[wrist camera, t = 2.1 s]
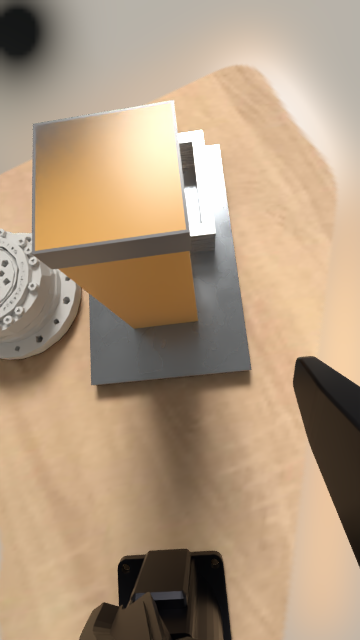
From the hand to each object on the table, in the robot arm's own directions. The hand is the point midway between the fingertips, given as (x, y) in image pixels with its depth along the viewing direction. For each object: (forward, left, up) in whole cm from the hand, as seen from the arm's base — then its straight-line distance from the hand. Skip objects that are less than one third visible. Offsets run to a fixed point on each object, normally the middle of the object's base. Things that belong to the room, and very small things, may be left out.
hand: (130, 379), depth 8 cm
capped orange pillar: (+6, 0, -12) cm, 14 cm away
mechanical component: (+8, +12, -14) cm, 20 cm away
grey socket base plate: (+9, 0, -13) cm, 16 cm away
